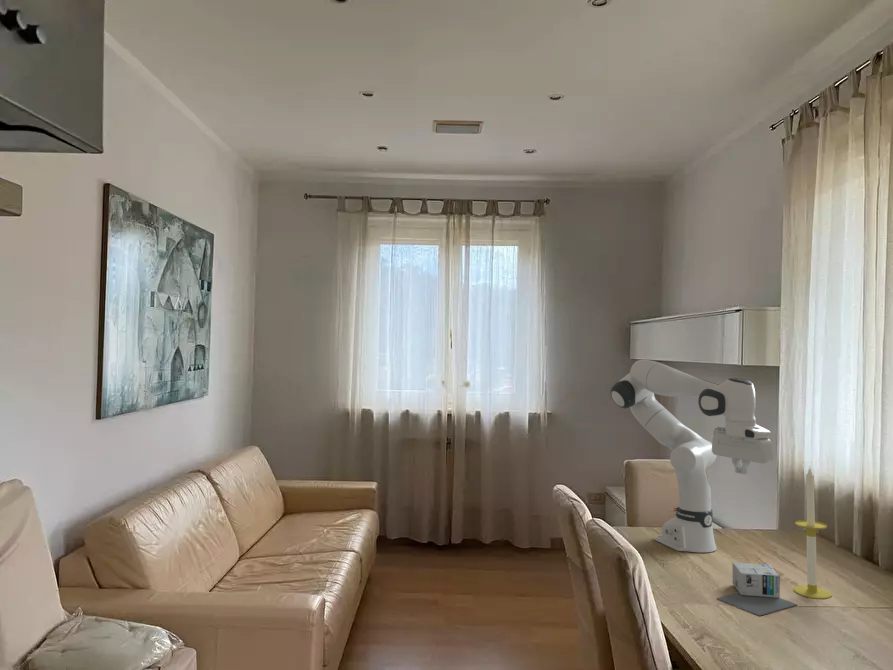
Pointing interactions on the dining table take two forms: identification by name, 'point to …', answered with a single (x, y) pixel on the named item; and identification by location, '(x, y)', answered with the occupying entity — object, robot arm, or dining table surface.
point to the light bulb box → (756, 580)
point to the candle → (811, 545)
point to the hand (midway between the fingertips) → (741, 473)
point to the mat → (757, 603)
